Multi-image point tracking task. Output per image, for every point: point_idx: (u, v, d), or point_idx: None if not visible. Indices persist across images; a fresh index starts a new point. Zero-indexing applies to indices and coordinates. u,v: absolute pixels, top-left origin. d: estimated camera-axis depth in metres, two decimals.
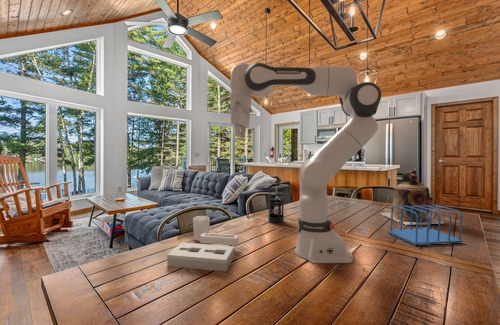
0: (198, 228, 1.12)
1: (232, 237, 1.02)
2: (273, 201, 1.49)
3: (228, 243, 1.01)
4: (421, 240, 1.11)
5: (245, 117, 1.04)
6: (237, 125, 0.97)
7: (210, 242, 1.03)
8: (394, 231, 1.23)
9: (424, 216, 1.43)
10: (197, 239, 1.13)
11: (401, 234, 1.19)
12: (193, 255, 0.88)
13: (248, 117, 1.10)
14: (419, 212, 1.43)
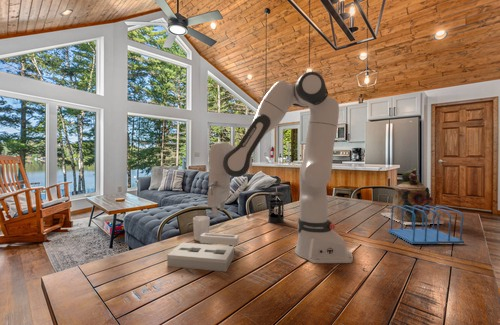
0: (198, 228, 1.12)
1: (232, 237, 1.02)
2: (273, 201, 1.49)
3: (228, 243, 1.01)
4: (420, 239, 1.12)
5: (224, 192, 1.04)
6: None
7: (210, 242, 1.03)
8: (394, 230, 1.24)
9: (424, 216, 1.43)
10: (197, 239, 1.13)
11: (400, 233, 1.20)
12: (193, 255, 0.88)
13: (228, 188, 1.10)
14: (419, 212, 1.43)
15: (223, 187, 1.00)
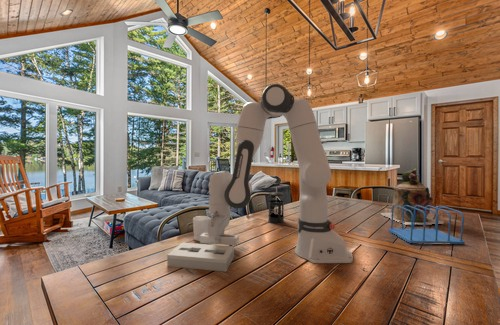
0: (198, 228, 1.12)
1: (232, 237, 1.02)
2: (273, 201, 1.49)
3: (228, 243, 1.01)
4: (418, 239, 1.13)
5: (224, 220, 1.05)
6: None
7: (210, 242, 1.03)
8: (394, 230, 1.25)
9: None
10: (197, 239, 1.13)
11: (400, 233, 1.21)
12: (193, 255, 0.88)
13: (228, 214, 1.11)
14: (419, 212, 1.43)
15: (223, 216, 1.01)
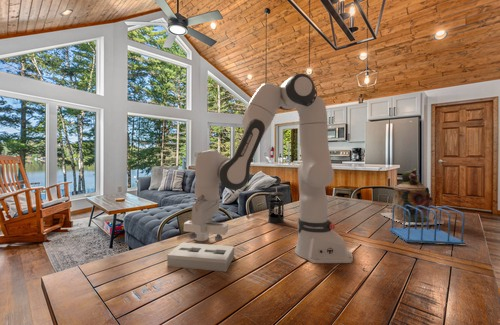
0: None
1: (220, 225, 0.89)
2: (273, 201, 1.49)
3: (215, 232, 0.89)
4: (416, 238, 1.14)
5: (212, 206, 0.92)
6: None
7: (195, 231, 0.90)
8: (395, 229, 1.26)
9: (424, 216, 1.43)
10: (197, 239, 1.13)
11: (399, 232, 1.22)
12: (193, 255, 0.88)
13: (217, 201, 0.98)
14: (419, 212, 1.42)
15: (211, 201, 0.88)
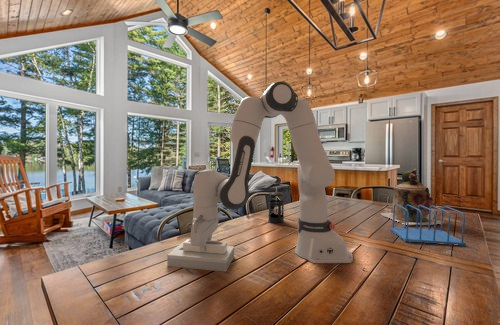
0: None
1: (219, 244, 0.89)
2: (273, 201, 1.49)
3: (215, 251, 0.89)
4: (415, 237, 1.14)
5: (211, 225, 0.93)
6: None
7: (194, 250, 0.90)
8: (395, 228, 1.27)
9: (424, 216, 1.43)
10: None
11: (399, 231, 1.23)
12: (193, 255, 0.88)
13: (216, 218, 0.99)
14: (419, 212, 1.42)
15: (209, 221, 0.89)
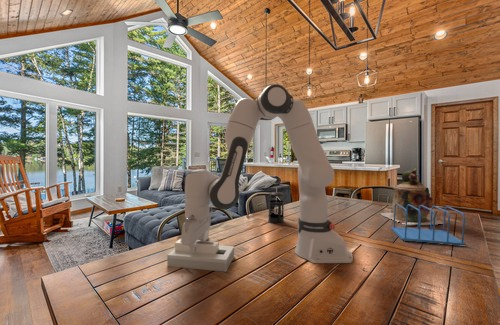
0: None
1: (211, 244, 0.90)
2: (273, 201, 1.49)
3: (206, 251, 0.90)
4: (414, 237, 1.15)
5: (203, 224, 0.93)
6: None
7: (186, 250, 0.91)
8: (396, 228, 1.28)
9: (424, 216, 1.43)
10: None
11: (399, 231, 1.24)
12: (193, 255, 0.88)
13: (209, 218, 0.99)
14: None
15: (201, 220, 0.90)
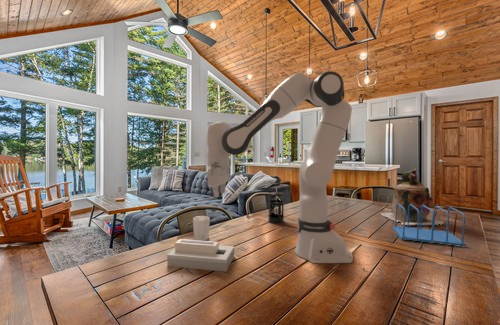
0: (198, 228, 1.12)
1: (211, 244, 0.90)
2: (273, 201, 1.49)
3: (206, 251, 0.90)
4: (413, 236, 1.16)
5: (224, 174, 1.03)
6: (215, 187, 0.95)
7: (186, 250, 0.91)
8: (397, 227, 1.29)
9: (424, 216, 1.42)
10: (197, 239, 1.13)
11: (400, 230, 1.25)
12: (193, 255, 0.88)
13: (228, 171, 1.09)
14: (419, 212, 1.42)
15: (223, 168, 0.99)
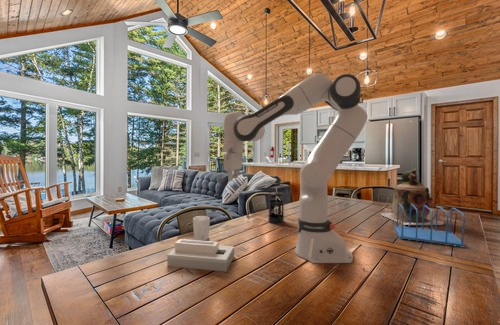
0: (198, 228, 1.12)
1: (211, 244, 0.90)
2: (273, 201, 1.49)
3: (206, 251, 0.90)
4: (412, 236, 1.17)
5: (238, 160, 1.11)
6: (229, 171, 1.03)
7: (186, 250, 0.91)
8: (398, 227, 1.30)
9: (424, 216, 1.42)
10: (197, 239, 1.13)
11: (400, 229, 1.26)
12: (193, 255, 0.88)
13: (241, 158, 1.17)
14: (419, 212, 1.42)
15: (237, 154, 1.07)
